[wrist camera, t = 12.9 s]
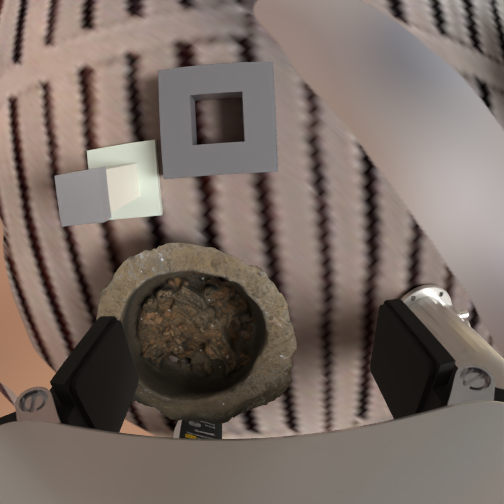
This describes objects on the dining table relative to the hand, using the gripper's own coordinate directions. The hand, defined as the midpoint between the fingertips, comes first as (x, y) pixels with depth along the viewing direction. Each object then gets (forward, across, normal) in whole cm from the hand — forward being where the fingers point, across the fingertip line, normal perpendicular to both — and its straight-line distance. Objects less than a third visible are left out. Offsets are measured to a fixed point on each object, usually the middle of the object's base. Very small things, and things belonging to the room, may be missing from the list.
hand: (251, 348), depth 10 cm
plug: (+26, +15, -5) cm, 31 cm away
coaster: (+27, +15, -5) cm, 31 cm away
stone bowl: (+28, +8, +14) cm, 33 cm away
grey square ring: (+27, +3, -11) cm, 30 cm away
